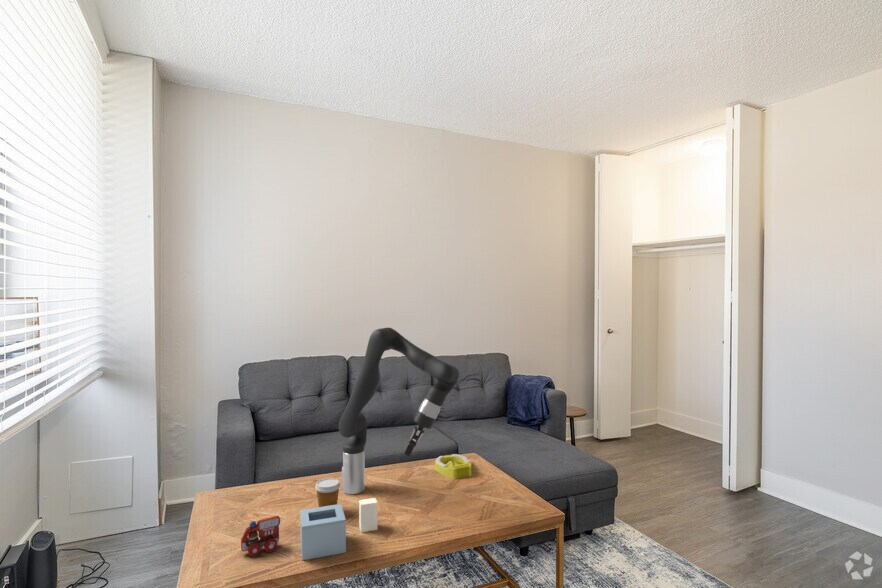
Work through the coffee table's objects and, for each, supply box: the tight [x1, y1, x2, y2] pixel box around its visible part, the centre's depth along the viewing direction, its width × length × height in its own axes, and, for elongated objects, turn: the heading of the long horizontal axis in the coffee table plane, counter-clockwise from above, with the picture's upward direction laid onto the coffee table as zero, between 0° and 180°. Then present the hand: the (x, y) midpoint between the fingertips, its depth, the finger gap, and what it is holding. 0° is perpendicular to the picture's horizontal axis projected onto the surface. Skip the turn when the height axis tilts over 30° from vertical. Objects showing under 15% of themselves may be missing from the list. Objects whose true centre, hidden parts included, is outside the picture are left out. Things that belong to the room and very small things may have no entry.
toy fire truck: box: [240, 515, 281, 557], centre depth 159 cm, size 7×12×10 cm, turn 118°
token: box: [358, 497, 379, 533], centre depth 173 cm, size 6×4×10 cm, turn 109°
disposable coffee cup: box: [314, 477, 341, 507], centre depth 185 cm, size 10×10×12 cm
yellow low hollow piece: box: [434, 453, 473, 480], centre depth 227 cm, size 16×21×5 cm
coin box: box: [299, 503, 347, 561], centre depth 161 cm, size 14×12×11 cm
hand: (407, 452), depth 177 cm, fingers open, 8 cm apart
